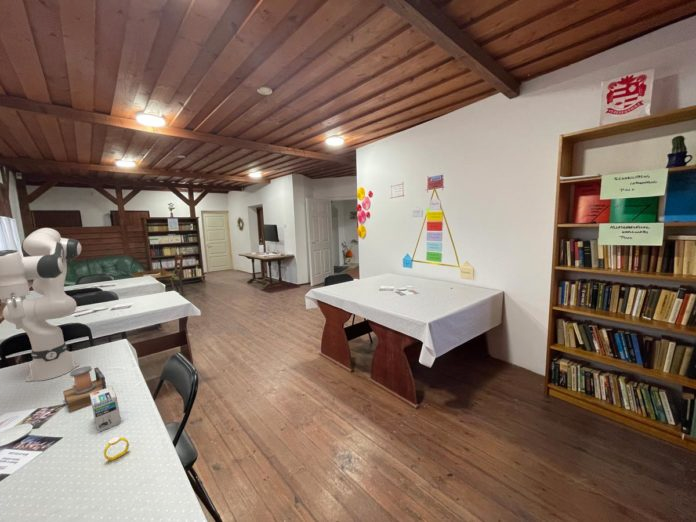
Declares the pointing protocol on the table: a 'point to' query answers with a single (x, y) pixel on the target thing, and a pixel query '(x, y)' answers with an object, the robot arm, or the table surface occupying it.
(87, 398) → the shelf stand
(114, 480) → the table surface
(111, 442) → the watch
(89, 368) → the cord spool
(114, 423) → the light bulb box
